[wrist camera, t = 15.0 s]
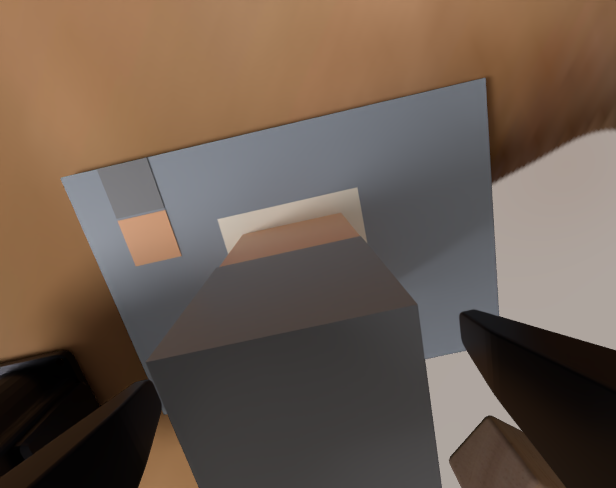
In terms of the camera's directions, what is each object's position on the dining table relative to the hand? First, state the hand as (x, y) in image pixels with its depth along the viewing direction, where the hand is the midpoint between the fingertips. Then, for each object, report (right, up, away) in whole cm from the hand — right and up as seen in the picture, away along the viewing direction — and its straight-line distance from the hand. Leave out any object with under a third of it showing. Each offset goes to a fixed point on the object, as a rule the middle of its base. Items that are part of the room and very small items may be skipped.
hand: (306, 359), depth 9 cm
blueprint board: (0, +2, +8) cm, 8 cm away
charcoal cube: (0, +1, +2) cm, 2 cm away
